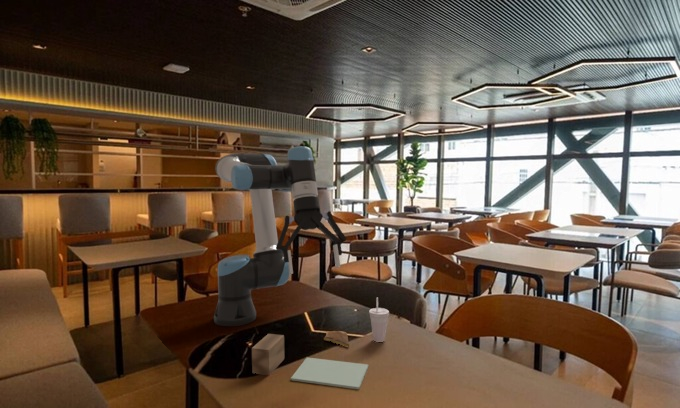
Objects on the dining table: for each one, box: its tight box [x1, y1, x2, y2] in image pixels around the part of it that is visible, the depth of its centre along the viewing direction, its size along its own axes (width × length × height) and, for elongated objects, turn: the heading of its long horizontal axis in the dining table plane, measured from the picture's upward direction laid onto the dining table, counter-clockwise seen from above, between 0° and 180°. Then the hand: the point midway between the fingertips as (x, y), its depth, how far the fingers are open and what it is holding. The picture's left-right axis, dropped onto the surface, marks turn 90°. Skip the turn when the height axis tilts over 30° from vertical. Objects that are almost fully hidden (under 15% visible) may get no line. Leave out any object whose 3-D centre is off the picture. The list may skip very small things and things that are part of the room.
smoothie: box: [368, 297, 390, 343], centre depth 124 cm, size 6×6×14 cm
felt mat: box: [290, 356, 369, 390], centre depth 103 cm, size 18×12×1 cm, turn 75°
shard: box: [323, 330, 350, 348], centre depth 124 cm, size 11×8×2 cm
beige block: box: [251, 333, 285, 376], centre depth 108 cm, size 5×10×7 cm, turn 165°
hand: (315, 270), depth 110 cm, fingers open, 13 cm apart
